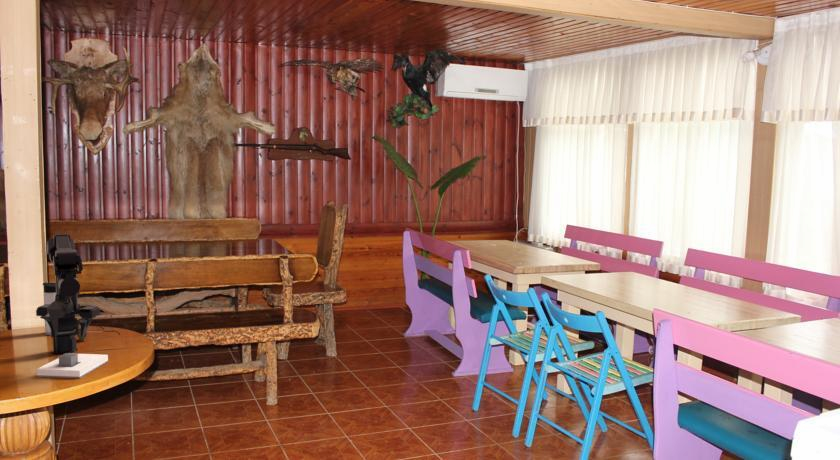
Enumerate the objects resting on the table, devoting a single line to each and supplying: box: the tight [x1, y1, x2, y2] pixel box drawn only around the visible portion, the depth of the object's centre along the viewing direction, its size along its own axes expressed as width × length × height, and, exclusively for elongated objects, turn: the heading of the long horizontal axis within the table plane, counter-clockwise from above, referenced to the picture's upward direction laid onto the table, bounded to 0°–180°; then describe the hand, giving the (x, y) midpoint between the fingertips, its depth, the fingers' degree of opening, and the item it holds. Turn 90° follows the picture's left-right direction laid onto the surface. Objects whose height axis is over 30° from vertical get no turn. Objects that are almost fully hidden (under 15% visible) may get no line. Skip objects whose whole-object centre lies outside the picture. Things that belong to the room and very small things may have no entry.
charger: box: [58, 353, 79, 367], centre depth 230 cm, size 4×4×5 cm
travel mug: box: [42, 282, 56, 336], centre depth 276 cm, size 6×7×20 cm
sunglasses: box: [76, 324, 121, 342], centre depth 276 cm, size 14×15×5 cm
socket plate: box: [36, 352, 109, 379], centre depth 233 cm, size 14×18×2 cm
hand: (69, 336), depth 232 cm, fingers open, 9 cm apart
